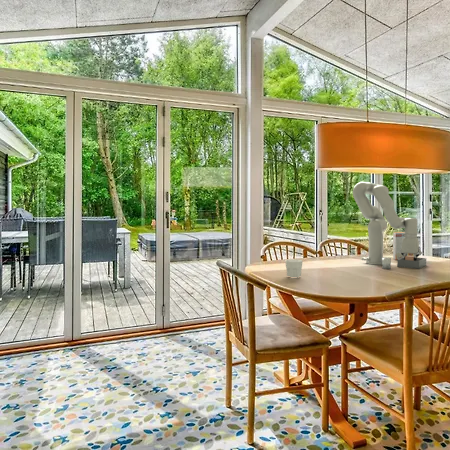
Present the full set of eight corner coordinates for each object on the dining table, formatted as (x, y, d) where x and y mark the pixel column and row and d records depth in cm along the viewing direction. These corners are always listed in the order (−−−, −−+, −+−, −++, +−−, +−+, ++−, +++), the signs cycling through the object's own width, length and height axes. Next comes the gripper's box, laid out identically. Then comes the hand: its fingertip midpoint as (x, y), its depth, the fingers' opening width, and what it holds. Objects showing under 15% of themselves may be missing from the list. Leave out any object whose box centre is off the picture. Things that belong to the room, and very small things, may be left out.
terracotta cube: (413, 264, 250) (413, 257, 250) (405, 263, 253) (405, 256, 253) (415, 263, 254) (415, 256, 253) (407, 262, 257) (407, 255, 257)
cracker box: (411, 259, 288) (412, 231, 286) (414, 260, 282) (415, 232, 280) (392, 259, 289) (393, 231, 288) (395, 260, 283) (395, 232, 282)
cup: (285, 278, 217) (285, 261, 217) (285, 275, 227) (285, 259, 226) (303, 279, 216) (303, 261, 215) (301, 275, 226) (301, 259, 225)
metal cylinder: (382, 268, 246) (383, 258, 245) (381, 267, 251) (382, 257, 250) (390, 269, 244) (391, 258, 244) (389, 268, 249) (390, 257, 249)
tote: (419, 268, 245) (419, 261, 245) (397, 266, 254) (397, 259, 254) (426, 265, 258) (426, 258, 258) (405, 263, 267) (405, 256, 267)
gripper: (395, 236, 255) (395, 262, 256) (423, 237, 244) (422, 265, 245) (399, 235, 261) (398, 261, 262) (426, 236, 249) (425, 263, 251)
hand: (410, 262), depth 253 cm, fingers closed on terracotta cube, 4 cm apart
